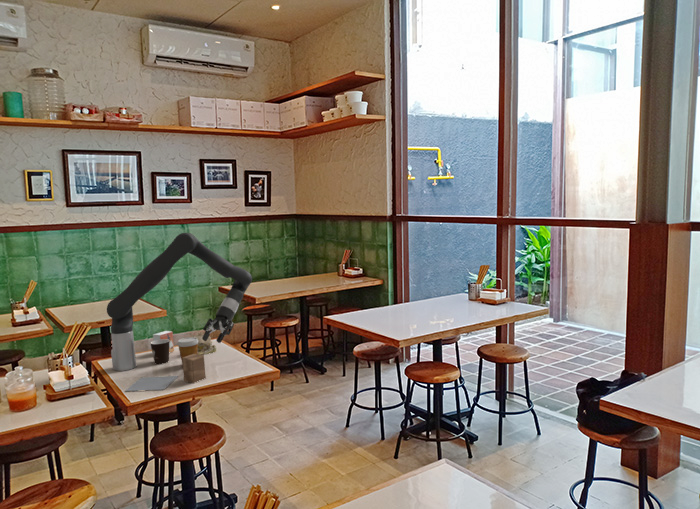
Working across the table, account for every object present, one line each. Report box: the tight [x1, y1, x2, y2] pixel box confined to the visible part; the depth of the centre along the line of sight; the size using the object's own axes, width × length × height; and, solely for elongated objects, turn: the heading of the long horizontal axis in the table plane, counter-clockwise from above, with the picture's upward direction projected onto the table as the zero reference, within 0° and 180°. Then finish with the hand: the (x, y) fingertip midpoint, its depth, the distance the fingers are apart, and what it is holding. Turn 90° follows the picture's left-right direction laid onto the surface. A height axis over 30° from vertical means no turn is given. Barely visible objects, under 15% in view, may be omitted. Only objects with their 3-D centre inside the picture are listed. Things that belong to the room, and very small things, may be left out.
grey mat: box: [124, 375, 179, 392], centre depth 220 cm, size 16×16×1 cm
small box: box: [152, 330, 175, 353], centre depth 265 cm, size 8×6×10 cm
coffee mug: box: [150, 339, 170, 365], centre depth 251 cm, size 12×9×10 cm
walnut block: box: [181, 354, 207, 383], centre depth 222 cm, size 6×6×10 cm
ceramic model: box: [192, 332, 217, 355], centre depth 263 cm, size 14×11×10 cm
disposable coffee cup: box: [176, 336, 199, 366], centre depth 243 cm, size 10×10×12 cm
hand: (211, 341), depth 230 cm, fingers open, 8 cm apart
